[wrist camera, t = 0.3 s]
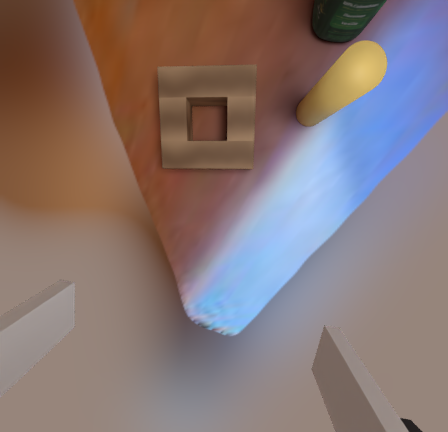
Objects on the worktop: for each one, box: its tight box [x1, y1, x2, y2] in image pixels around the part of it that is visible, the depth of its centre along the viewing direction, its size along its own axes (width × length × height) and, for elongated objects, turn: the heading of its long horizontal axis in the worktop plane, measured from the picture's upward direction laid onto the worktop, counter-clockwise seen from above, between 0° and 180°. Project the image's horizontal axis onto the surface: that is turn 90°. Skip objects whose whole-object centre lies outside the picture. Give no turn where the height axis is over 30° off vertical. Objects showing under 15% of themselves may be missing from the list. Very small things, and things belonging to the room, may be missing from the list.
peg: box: [296, 41, 387, 126], centre depth 26 cm, size 4×4×14 cm
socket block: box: [157, 65, 257, 169], centre depth 32 cm, size 14×14×4 cm
